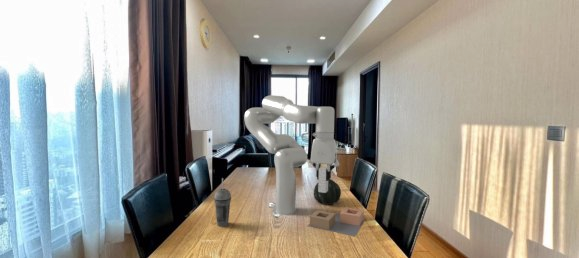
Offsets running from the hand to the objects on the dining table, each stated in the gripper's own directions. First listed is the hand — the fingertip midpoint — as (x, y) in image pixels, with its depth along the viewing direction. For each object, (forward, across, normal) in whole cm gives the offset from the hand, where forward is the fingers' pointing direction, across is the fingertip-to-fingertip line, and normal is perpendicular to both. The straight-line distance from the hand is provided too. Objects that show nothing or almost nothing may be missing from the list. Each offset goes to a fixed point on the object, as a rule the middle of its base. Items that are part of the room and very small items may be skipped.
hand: (323, 179), depth 114 cm
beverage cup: (+21, -39, -18) cm, 48 cm away
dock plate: (+21, +5, +5) cm, 22 cm away
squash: (+21, -9, +32) cm, 39 cm away
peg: (+5, 0, 0) cm, 5 cm away
